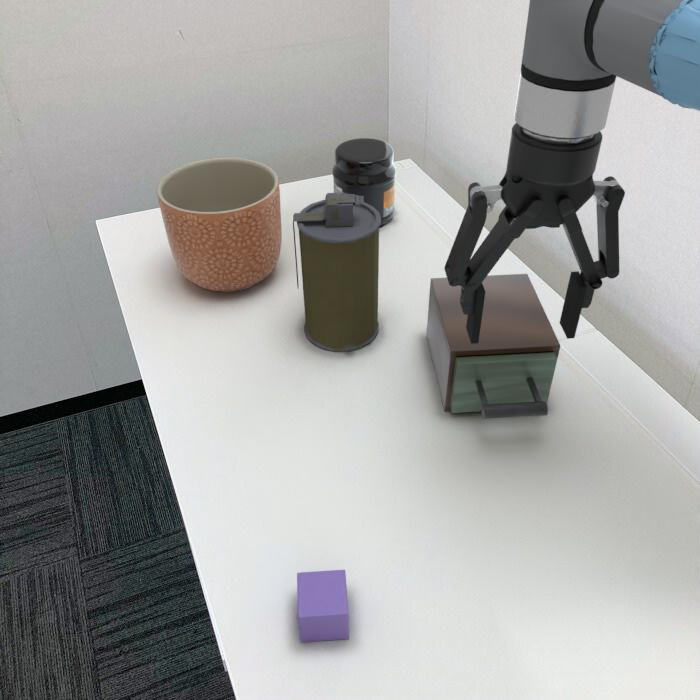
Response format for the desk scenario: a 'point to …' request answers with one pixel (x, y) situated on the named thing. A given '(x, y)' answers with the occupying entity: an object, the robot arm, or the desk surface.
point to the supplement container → (367, 173)
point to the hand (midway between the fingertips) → (519, 332)
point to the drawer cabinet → (486, 325)
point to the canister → (339, 271)
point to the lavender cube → (322, 605)
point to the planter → (222, 221)
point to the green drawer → (503, 384)
